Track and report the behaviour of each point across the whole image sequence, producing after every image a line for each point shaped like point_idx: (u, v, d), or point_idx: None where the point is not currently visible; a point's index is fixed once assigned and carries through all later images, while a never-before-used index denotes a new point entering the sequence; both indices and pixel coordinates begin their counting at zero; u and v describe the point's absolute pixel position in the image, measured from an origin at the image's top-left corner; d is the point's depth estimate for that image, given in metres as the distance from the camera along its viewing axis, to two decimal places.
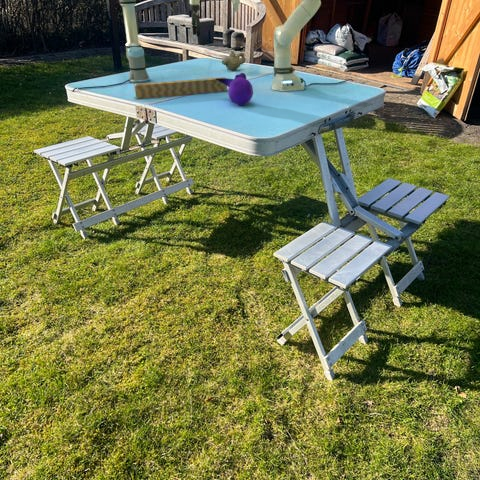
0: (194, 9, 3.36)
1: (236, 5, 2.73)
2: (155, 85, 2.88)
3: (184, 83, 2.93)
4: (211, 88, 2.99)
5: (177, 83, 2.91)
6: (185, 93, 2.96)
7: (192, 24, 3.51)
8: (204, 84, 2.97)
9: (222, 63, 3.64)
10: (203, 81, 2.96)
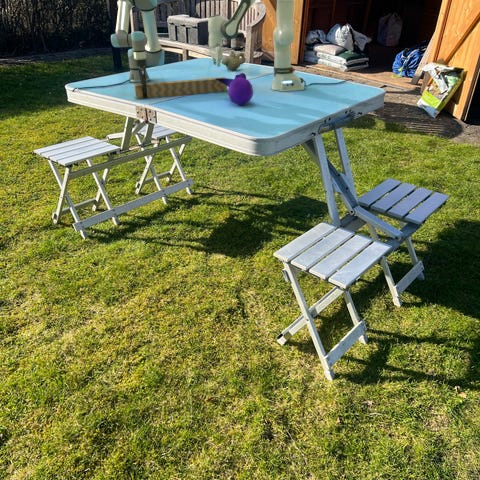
0: (139, 64, 2.78)
1: (219, 61, 2.89)
2: (155, 85, 2.88)
3: (184, 83, 2.93)
4: (211, 88, 2.99)
5: (177, 83, 2.91)
6: (185, 93, 2.96)
7: (140, 83, 2.91)
8: (204, 84, 2.97)
9: (222, 63, 3.64)
10: (203, 81, 2.96)
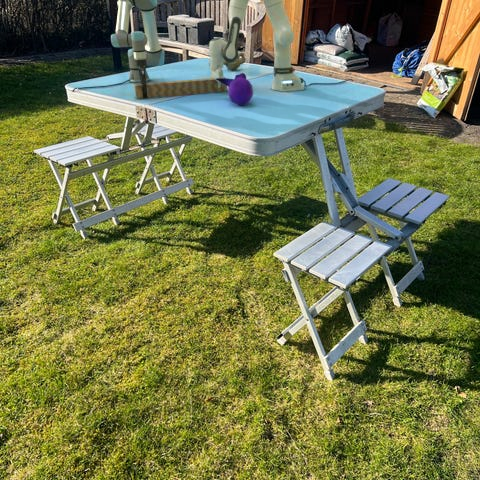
0: (139, 64, 2.78)
1: (219, 82, 2.96)
2: (155, 85, 2.88)
3: (184, 83, 2.93)
4: (211, 88, 2.99)
5: (177, 83, 2.91)
6: (185, 93, 2.96)
7: None
8: (204, 84, 2.97)
9: None
10: (203, 81, 2.96)
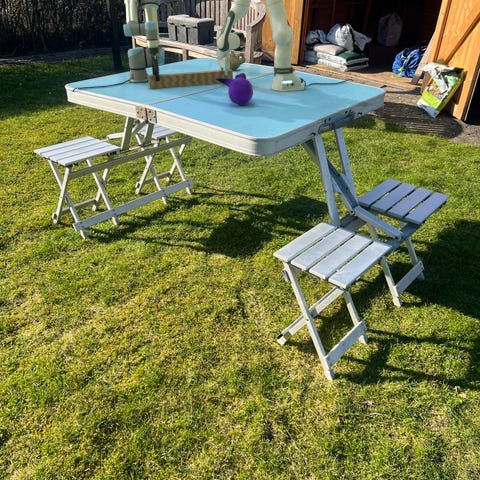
0: (152, 52, 3.02)
1: (226, 69, 3.19)
2: (167, 76, 3.13)
3: (193, 74, 3.18)
4: None
5: (187, 74, 3.17)
6: (194, 83, 3.21)
7: (152, 66, 3.17)
8: (212, 76, 3.22)
9: None
10: (211, 73, 3.21)
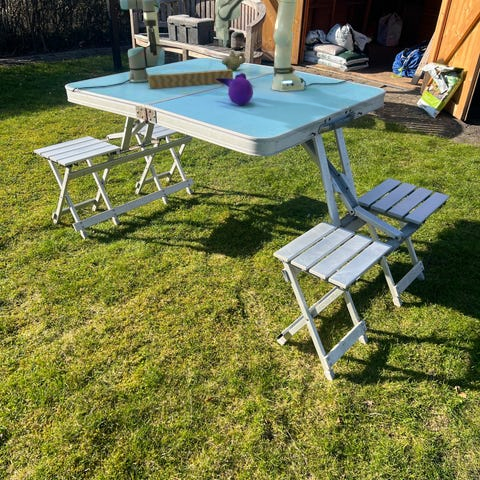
0: (149, 25, 2.94)
1: (225, 41, 3.10)
2: (167, 76, 3.13)
3: (193, 74, 3.18)
4: None
5: (187, 74, 3.17)
6: (194, 83, 3.21)
7: (149, 41, 3.08)
8: (212, 76, 3.22)
9: (222, 63, 3.64)
10: (211, 73, 3.21)
